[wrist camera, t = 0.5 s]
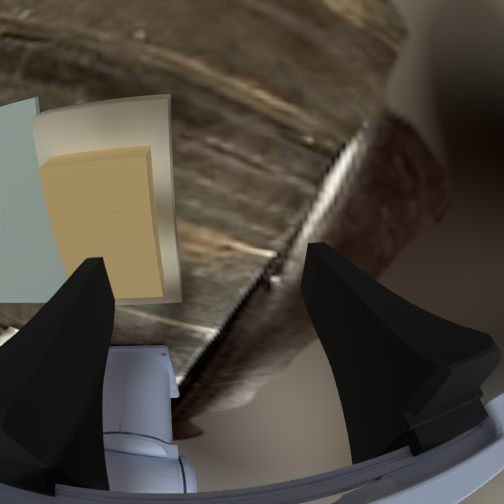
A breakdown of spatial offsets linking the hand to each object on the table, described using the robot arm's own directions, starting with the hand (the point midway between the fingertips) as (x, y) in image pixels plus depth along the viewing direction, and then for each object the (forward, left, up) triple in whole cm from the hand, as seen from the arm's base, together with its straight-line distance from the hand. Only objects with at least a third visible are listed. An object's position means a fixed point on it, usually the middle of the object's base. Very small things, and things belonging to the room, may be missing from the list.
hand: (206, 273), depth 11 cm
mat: (-2, +16, -10) cm, 19 cm away
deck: (-2, +6, -10) cm, 12 cm away
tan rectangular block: (-2, +6, -7) cm, 9 cm away
